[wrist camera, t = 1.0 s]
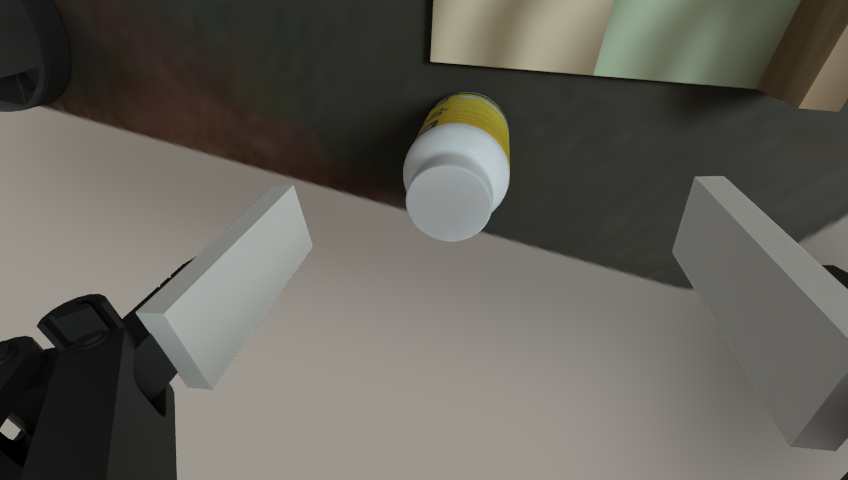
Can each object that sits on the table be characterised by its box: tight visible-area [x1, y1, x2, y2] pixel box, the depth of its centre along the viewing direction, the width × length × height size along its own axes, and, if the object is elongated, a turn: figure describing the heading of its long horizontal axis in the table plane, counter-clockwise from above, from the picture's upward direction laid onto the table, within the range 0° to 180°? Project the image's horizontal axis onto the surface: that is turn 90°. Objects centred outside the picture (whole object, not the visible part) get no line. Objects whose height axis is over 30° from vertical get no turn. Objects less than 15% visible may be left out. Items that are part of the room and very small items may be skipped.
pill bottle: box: [403, 92, 510, 242], centre depth 25 cm, size 6×6×12 cm
